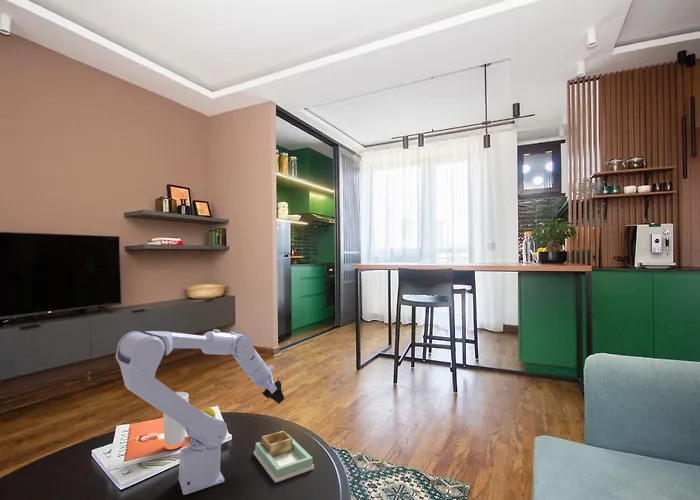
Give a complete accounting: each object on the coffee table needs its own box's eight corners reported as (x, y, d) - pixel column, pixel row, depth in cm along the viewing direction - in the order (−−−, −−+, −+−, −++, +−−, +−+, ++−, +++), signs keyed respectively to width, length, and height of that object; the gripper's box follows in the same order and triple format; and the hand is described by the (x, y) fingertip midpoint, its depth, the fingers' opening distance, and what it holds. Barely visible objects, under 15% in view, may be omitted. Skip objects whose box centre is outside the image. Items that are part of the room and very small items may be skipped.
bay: (275, 482, 86) (275, 470, 86) (253, 454, 99) (254, 443, 99) (313, 468, 92) (314, 457, 92) (288, 443, 105) (289, 433, 105)
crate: (268, 458, 95) (269, 445, 95) (261, 448, 100) (261, 436, 100) (292, 451, 99) (292, 438, 99) (283, 442, 104) (283, 430, 104)
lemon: (217, 428, 115) (218, 403, 115) (209, 436, 109) (210, 410, 110) (202, 427, 115) (203, 403, 116) (193, 435, 110) (194, 409, 110)
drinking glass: (164, 442, 105) (166, 392, 106) (188, 439, 107) (190, 390, 108) (158, 454, 98) (161, 400, 99) (184, 450, 100) (187, 398, 101)
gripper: (275, 366, 96) (297, 396, 102) (255, 346, 107) (275, 374, 113) (254, 385, 93) (278, 414, 99) (236, 362, 104) (258, 390, 110)
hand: (275, 394), depth 106 cm, fingers open, 7 cm apart
